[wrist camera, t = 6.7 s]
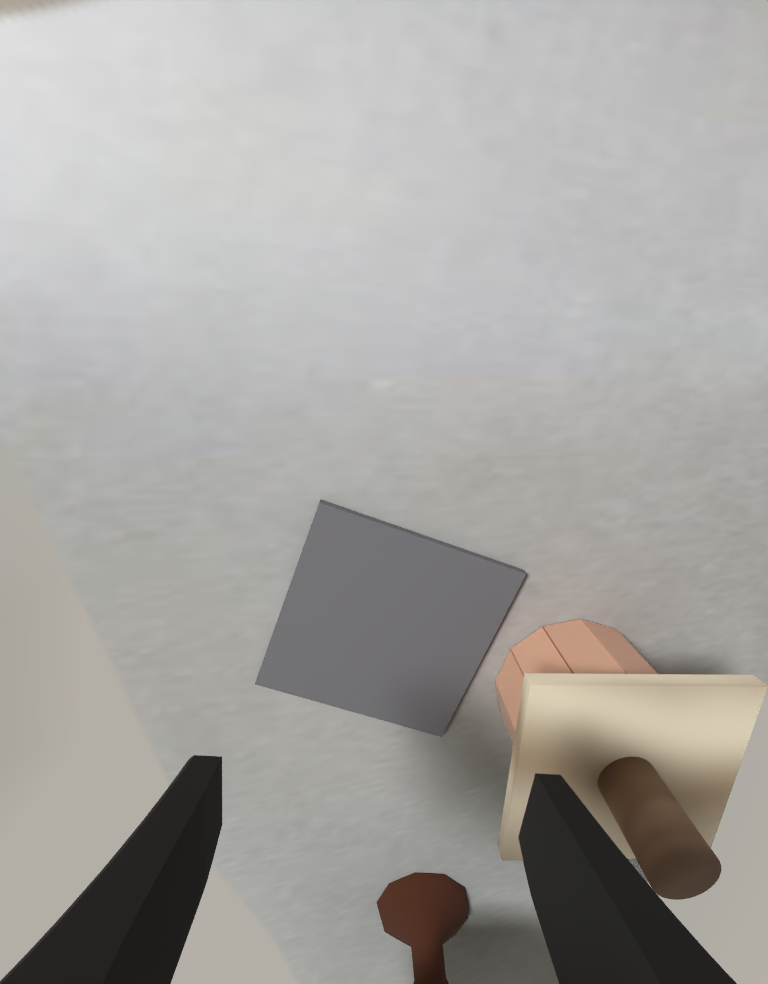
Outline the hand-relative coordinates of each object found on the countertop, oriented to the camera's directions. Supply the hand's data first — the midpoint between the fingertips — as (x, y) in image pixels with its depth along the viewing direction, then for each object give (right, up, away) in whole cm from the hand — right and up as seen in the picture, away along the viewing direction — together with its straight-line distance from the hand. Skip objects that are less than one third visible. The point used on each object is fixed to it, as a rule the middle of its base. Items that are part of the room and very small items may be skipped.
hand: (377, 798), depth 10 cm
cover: (+9, -4, +7) cm, 12 cm away
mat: (0, +1, +10) cm, 10 cm away
